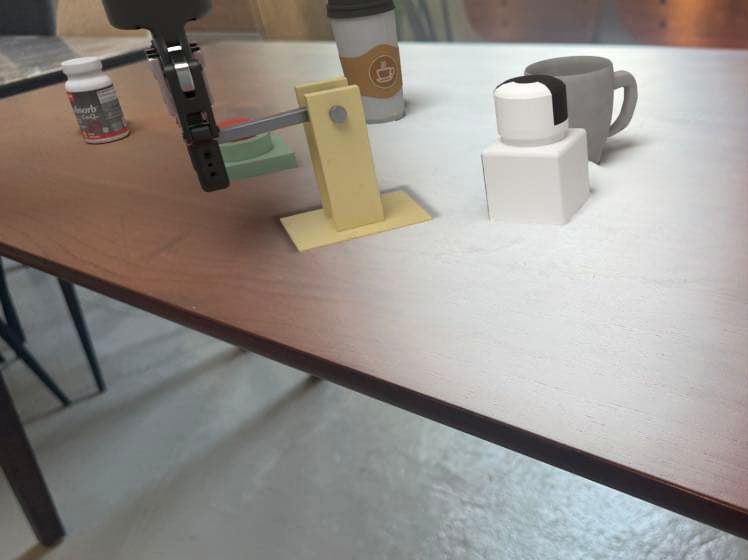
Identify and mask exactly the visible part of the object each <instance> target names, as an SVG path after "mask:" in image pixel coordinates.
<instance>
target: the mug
mask: <svg viewBox="0 0 748 560" xmlns="http://www.w3.org/2000/svg"><path fill="white" fill-rule="evenodd" d="M614 70H615V69H614V64H613V61H611V60H610V58H608V57H604V56H598V55H597V56H596V55H569V56H559V57H552V58H547V59H542V60H539V61H536V62H533V63H531V64H529V65H528V66H526V67H525V69H524V71H523V76H526V75H549V76H553V77H555V78H558V79H560V80H562V81H563V82H564V84H565V85H566V94H567V109H568V123H569V127H568V128H583V129H585V130H586V136H587V153H588V162H591V163H592V164H594V165H597V164H598V163H599V162H601V159H602V154H603V151H604V148H605V145H606V143H607V140H608V139H609V138H611V137H613V136H615V135H617V134H618V133H620V132H622V131H623V130H625V129H626V128H627V127H628V126H629V124H630V123H631V121H632V119H633V117H634V113H635V110H636V106H637V103H638V98H639V97H638V96H639V94H638V84H637V80H636V78H635V76H634V74H632V73H630V72H629V71H627V70H623V69H619V70H615V71H614ZM621 88H623V101H622V105H621V108H620V111H619V114H618V116H617V117H616V119H615V120H614V121H613V122H612V119H613V111H614V101H615V100H614V99H615V91H616V90H618V89H621ZM599 164H600V163H599ZM599 164H598V165H599Z"/></svg>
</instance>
